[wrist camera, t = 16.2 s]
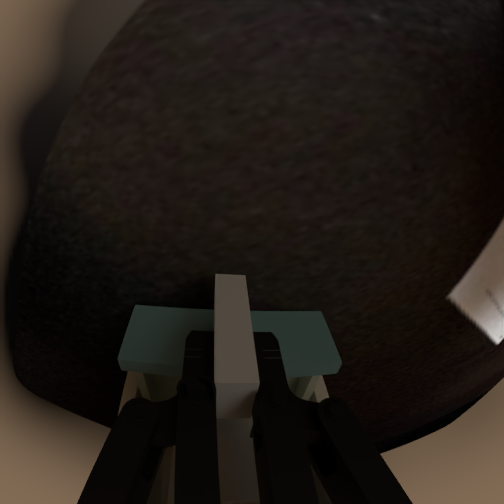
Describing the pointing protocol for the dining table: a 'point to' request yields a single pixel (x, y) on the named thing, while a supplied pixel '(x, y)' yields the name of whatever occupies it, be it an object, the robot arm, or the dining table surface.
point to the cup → (231, 463)
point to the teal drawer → (184, 320)
